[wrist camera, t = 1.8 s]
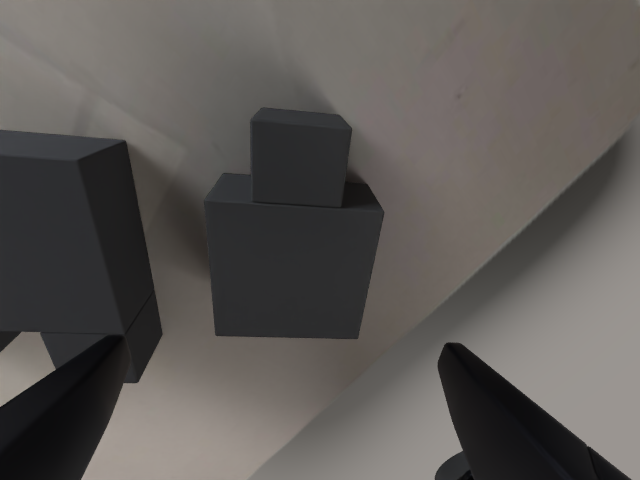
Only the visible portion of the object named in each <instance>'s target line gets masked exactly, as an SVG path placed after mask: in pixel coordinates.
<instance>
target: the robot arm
mask: <svg viewBox="0 0 640 480" xmlns="http://www.w3.org/2000/svg"><path fill="white" fill-rule="evenodd" d="M130 364H131V354H130V350H129V346H128V343H127V339H126V337H125V336H123V335H107V336H105V337H104V338H102V339H101V340H99V341H98V342H96V343H95V344H93V345H92V346H90V347H89V348H87V349H86V350H84V351H83V352H81V353H80V354H78V355H77V356H75V357H74V358H72V359H71V360H69V361H68V362H66V363H65V364H63V365H62V366H60V367H59V368H58V369H56V370H55V371H53V372H52V373H50V374H49V375H47V376H46V377H44V378H43V379H41V380H40V381H38V382H37V383H35V384H34V385H32V386H31V387H29V388H28V389H26V390H25V391H23V392H22V393H20V394H19V395H17V396H16V397H14V398H13V399H12V400H10V401H9V402H7V403H6V404H4V405H3V406H1V407H0V480H81V478H82V476H83V474H84V472H85V470H86V468H87V466H88V464H89V462H90V460H91V458H92V456H93V454H94V452H95V450H96V448H97V446H98V444H99V442H100V440H101V438H102V436H103V434H104V431H105V429H106V427H107V425H108V423H109V420H110V418H111V415H112V413H113V410H114V407H115V405H116V402H117V399H118V397H119V394H120V391H121V389H122V386H123V383H124V381H125V378H126V375H127V372H128V370H129V367H130ZM438 371H439V375H440V378H441V382H442V386H443V389H444V393H445V397H446V401H447V404H448V408H449V412H450V415H451V419H452V422H453V425H454V428H455V430H456V433H457V436H458V438H459V441H460V444H461V446H462V449H463V452H464V454H465V457H466V459H467V462H468V465H469V467H470V470H468V471H466V472H465V473H464V475H463V477H462V478H461V480H631V479H630V478H628V477H627V476H626V475H625V474H624V473H622V472H621V471H619V470H618V469H617V468H616V467H615V466H613V465H612V464H611V463H609V462H608V461H607V460H606V459H604V458H603V457H602V456H601V455H599V454H598V453H597V452H596V451H594V450H593V449H592V448H591V447H589V446H587V445H586V444H585V443H584V442H583V441H582V440H581V439H579V438H578V437H577V436H575V435H574V434H573V433H572V432H571V431H569V430H568V429H567V428H566V427H564V426H563V425H562V424H561V423H559V422H558V421H557V420H556V419H554V418H553V417H552V416H551V415H549V414H548V413H547V412H546V411H545V410H543V409H542V408H541V407H540V406H538V405H537V404H536V403H535V402H533V401H532V400H531V399H530V398H528V397H527V396H526V395H525V394H523V393H522V392H521V391H520V390H518V389H517V388H516V387H515V386H513V385H512V384H511V383H510V382H508V381H507V380H506V379H505V378H503V377H502V376H501V375H500V374H498V373H497V372H496V371H495V370H493V369H492V368H491V367H490V366H488V365H487V364H486V363H485V362H483V361H482V360H481V359H480V358H479V357H477V356H476V355H475V354H474V353H472V352H471V351H470V350H468V349H467V348H466V347H465V346H464V345H462V344H460V343H446V344H445V345H444V347H443V350H442V352H441V355H440V357H439V360H438Z"/></svg>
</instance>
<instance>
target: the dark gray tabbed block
mask: <svg viewBox="0 0 640 480" xmlns="http://www.w3.org/2000/svg"><path fill="white" fill-rule="evenodd" d="M250 127H251V175H240V174H227V173H224V174H222V176H221V177H220V179H219V180H218V181H217V183H216V184H215V186H214V187H213V188H212V190H211V191H210V193H209V194H208V195H207V197H206V198H205V200H204V207H205V218H206V230H207V242H208V254H209V266H210V278H211V290H212V301H213V313H214V325H215V335H216V336H242V337H286V338H331V339H358V336H359V331H360V326H361V322H362V317H363V312H364V307H365V303H366V298H367V293H368V288H369V283H370V279H371V274H372V269H373V264H374V260H375V255H376V250H377V245H378V240H379V236H380V231H381V226H382V221H383V217H384V210H383V209H382V207H381V205H380V204H379V202H378V201H377V199H376V197H375V196H374V194H373V192H372V191H371V189H370V187H369V186H368V184H363V183H349V182H345V178H346V170H347V163H348V156H349V149H350V141H351V134H352V128H351V127H350V126H349V125H348V124H347V123H346V121H345V120H344V119H343V118H342V117H341V116H340V115H336V114H325V113H315V112H304V111H294V110H283V109H273V108H261V109H260V110H259V111H258V112H257V113H256V114H255V115H254V117H253V118H252V119H251V121H250Z"/></svg>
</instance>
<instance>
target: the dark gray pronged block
mask: <svg viewBox="0 0 640 480" xmlns="http://www.w3.org/2000/svg"><path fill="white" fill-rule="evenodd" d="M21 332H41V333H40V334H41V337H42V339H43V341H44V344H45V346H46V348H47V350H48V353H49V355H50V357H51V359H52V362H53V364H54V366H55V368H56V369H58V368H59V367H60V366H62V365H63V364H65V363H66V362H68V361H69V360H71V359H72V358H74V357H75V356H77V355H78V354H80V353H81V352H83V351H84V350H86V349H87V348H89V347H90V346H92V345H93V344H95V343H96V342H98V341H99V340H101V339H102V338H104V337H105V336H107V335H123V336H125V337H126V339H127V343H128V346H129V350H130V354H131V364H130V367H129V370H128V372H127V375H126V378H125V381H124V383H138V382H139V380H140V378H141V376H142V374H143V372H144V370H145V368H146V366H147V364H148V362H149V360H150V358H151V356H152V354H153V352H154V350H155V348H156V346H157V344H158V343H159V341H160V339H161V337H162V335H163V333H162V328H161V323H160V317H159V312H158V307H157V302H156V297H155V291H154V285H153V280H152V274H151V269H150V264H149V259H148V253H147V248H146V243H145V238H144V232H143V227H142V222H141V217H140V211H139V206H138V201H137V196H136V191H135V185H134V180H133V175H132V170H131V164H130V159H129V154H128V149H127V143H126V141H125V140H117V139H105V138H92V137H80V136H68V135H56V134H43V133H31V132H19V131H6V130H0V352H1V351H2V350H3V349H4V348H5V347H6V346H7V345H8V344H9V343H10V342H12V341H13V340H14V339H15V338H16V337H17V336H18V335H19V334H20V333H21Z"/></svg>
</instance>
